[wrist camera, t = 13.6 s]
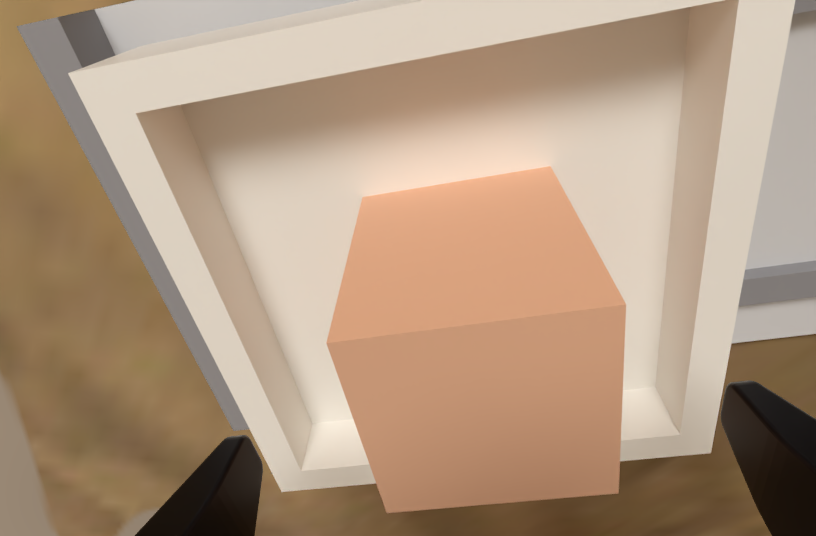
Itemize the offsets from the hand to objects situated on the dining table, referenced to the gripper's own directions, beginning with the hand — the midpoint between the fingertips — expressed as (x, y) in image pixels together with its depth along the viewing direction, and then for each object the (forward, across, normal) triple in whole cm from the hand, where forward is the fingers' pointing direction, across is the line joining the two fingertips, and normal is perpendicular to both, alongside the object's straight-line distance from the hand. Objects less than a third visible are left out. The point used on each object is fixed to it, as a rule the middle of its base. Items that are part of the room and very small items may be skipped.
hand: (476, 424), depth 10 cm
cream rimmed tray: (+9, 0, 0) cm, 9 cm away
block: (+6, 0, 0) cm, 6 cm away
